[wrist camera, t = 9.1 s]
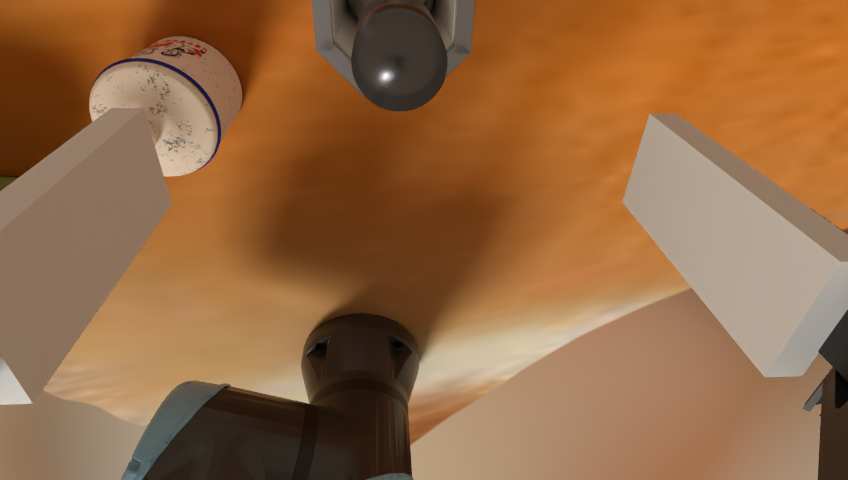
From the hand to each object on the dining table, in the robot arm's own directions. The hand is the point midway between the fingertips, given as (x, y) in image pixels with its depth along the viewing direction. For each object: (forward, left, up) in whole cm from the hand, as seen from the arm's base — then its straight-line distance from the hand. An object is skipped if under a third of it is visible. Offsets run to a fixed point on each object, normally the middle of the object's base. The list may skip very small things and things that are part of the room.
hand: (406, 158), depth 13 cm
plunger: (0, 0, -29) cm, 29 cm away
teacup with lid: (-9, +19, -33) cm, 39 cm away
